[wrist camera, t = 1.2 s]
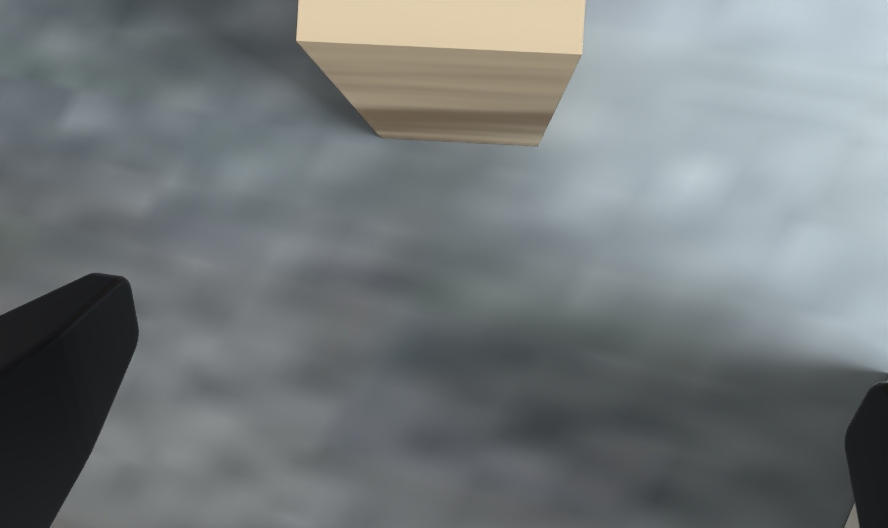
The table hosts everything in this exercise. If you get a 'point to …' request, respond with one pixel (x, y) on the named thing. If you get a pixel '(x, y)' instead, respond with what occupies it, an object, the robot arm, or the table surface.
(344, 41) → the block
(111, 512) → the table surface
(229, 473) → the table surface
